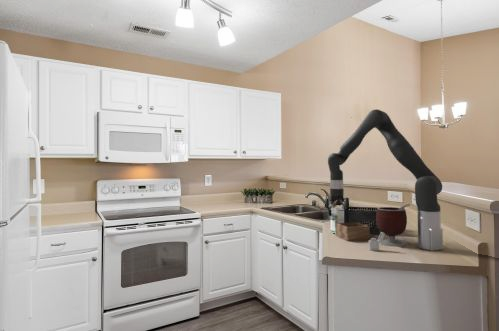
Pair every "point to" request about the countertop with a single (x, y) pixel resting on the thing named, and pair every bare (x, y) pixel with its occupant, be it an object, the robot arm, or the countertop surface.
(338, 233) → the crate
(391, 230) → the mate gourd
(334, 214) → the syrup box
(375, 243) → the lighter
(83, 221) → the countertop surface
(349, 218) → the storage bin
